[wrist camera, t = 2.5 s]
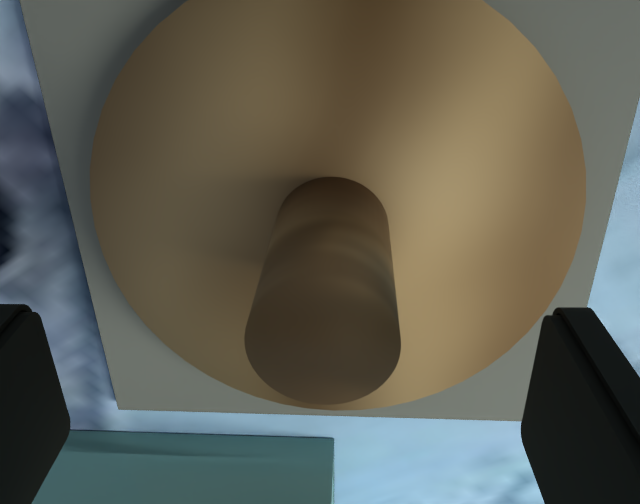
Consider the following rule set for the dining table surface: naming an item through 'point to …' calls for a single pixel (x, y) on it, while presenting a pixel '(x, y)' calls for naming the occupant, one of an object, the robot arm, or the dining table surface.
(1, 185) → the dining table surface
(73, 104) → the mat
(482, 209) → the lid
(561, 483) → the robot arm
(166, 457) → the green square box
